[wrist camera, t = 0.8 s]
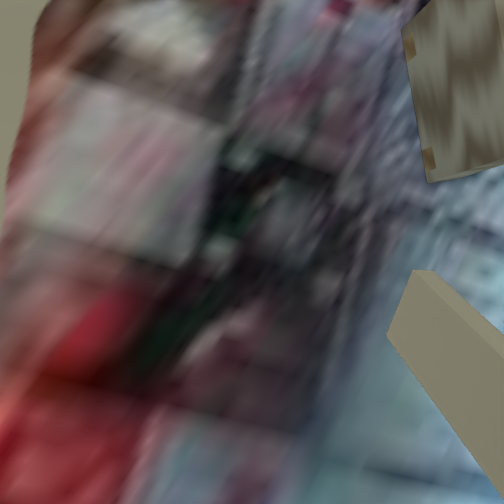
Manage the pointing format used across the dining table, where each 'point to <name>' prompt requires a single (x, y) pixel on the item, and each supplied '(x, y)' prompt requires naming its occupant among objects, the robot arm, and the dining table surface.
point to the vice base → (458, 85)
